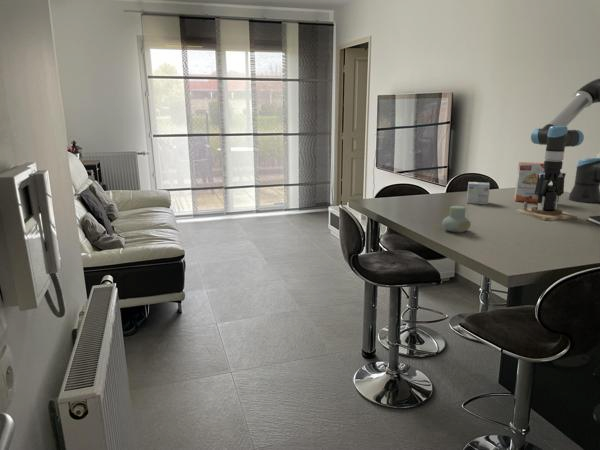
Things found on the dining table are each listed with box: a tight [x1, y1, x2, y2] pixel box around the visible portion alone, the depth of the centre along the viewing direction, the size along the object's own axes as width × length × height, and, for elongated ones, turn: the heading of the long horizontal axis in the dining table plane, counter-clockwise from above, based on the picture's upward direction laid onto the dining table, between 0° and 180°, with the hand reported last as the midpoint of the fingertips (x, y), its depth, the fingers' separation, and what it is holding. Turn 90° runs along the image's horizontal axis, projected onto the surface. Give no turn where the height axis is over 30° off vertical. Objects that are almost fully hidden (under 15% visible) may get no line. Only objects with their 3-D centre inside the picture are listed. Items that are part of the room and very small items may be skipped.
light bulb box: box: [466, 181, 490, 205], centre depth 242 cm, size 11×7×11 cm, turn 71°
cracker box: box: [513, 161, 544, 203], centre depth 245 cm, size 14×6×21 cm, turn 73°
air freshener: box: [441, 205, 471, 234], centre depth 186 cm, size 11×8×10 cm
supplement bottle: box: [541, 184, 557, 212], centre depth 214 cm, size 7×7×12 cm
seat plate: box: [516, 202, 578, 221], centre depth 215 cm, size 18×18×5 cm
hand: (546, 209), depth 215 cm, fingers closed on supplement bottle, 7 cm apart
